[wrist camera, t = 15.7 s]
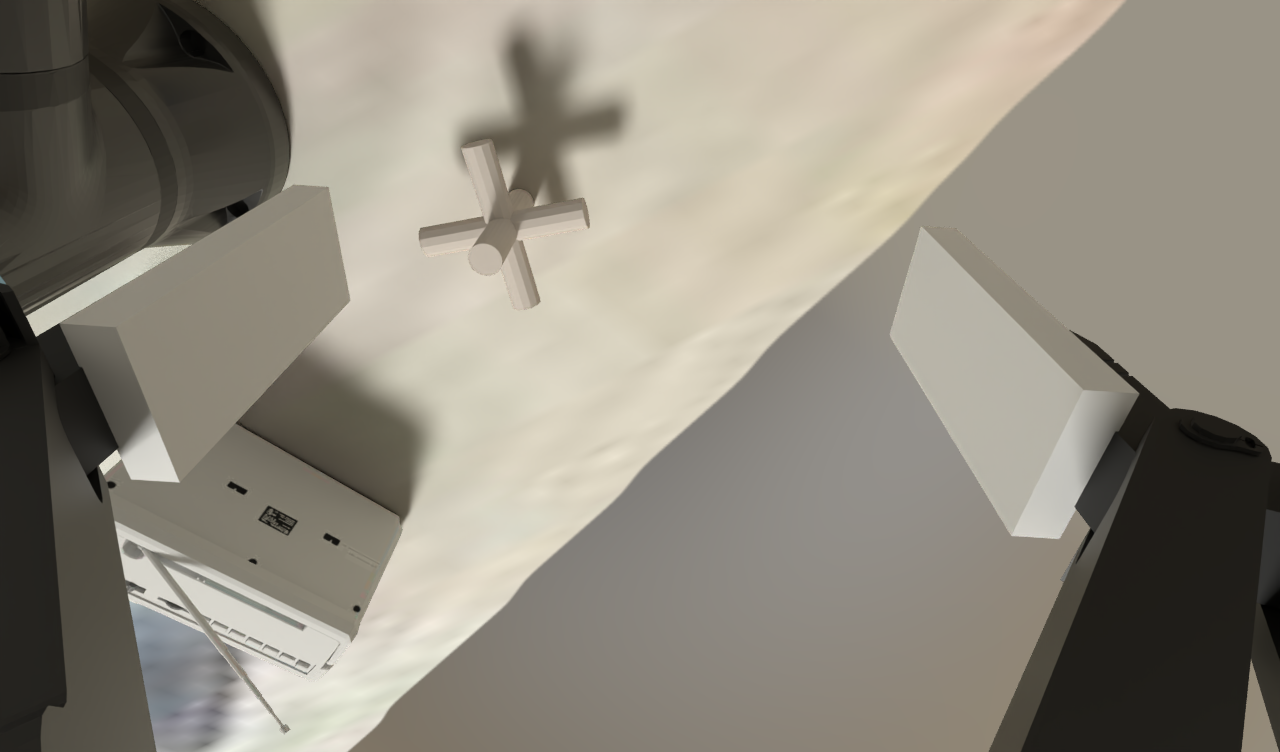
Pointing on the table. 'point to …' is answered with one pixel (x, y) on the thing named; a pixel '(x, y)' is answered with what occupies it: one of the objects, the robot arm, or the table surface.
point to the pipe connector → (502, 226)
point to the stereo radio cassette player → (255, 553)
